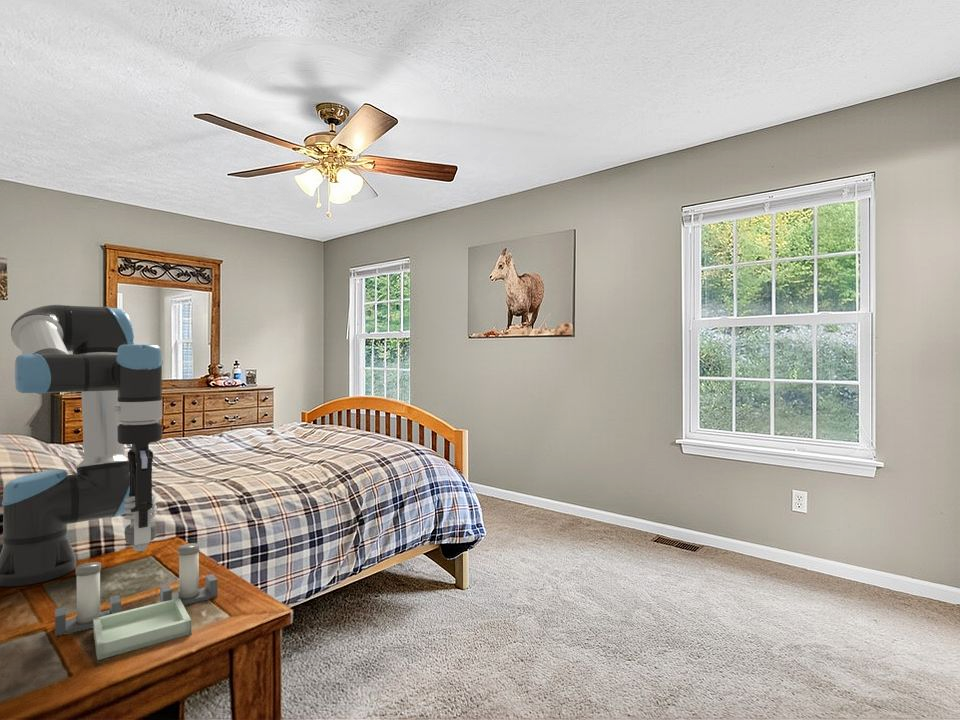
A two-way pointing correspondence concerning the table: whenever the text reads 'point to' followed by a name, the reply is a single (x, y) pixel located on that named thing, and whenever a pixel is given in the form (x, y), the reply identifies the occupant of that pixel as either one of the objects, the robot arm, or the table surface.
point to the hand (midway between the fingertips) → (140, 538)
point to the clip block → (115, 606)
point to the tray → (140, 627)
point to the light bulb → (130, 528)
